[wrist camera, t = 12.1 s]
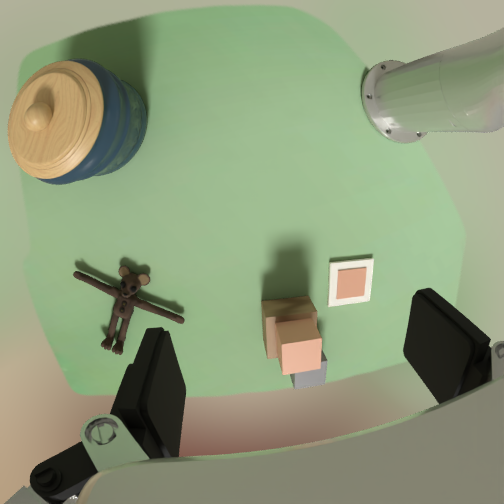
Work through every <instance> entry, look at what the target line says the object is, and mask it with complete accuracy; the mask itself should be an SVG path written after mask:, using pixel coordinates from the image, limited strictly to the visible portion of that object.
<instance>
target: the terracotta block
mask: <svg viewBox="0 0 504 504" xmlns="http://www.w3.org/2000/svg"><path fill="white" fill-rule="evenodd" d="M275 330H276V347H277V355H278V359H279V363H280V366H281V370H282V374H283V375H286V374H293V373H299V372H305V371H310V370H316V369H321V349H322V337H321V335H320V333H319V331H318V329H317V327H316V325H315V323H314V322H313V320H312V318H307V319H300V320H294V321H286V322H279V323H275Z"/></svg>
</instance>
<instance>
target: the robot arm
mask: <svg viewBox="0 0 504 504" xmlns="http://www.w3.org/2000/svg"><path fill="white" fill-rule="evenodd" d="M367 96H368V98H367ZM362 102H363V107H364V109H365V112H366V115H367V117H368V118H369V120H370V122H371V123H372V125H373V126H374V127H375V129H376V130H377V131H378V132H380V133H381V134H382V135H383V136H385V137H386V138H388V139H390V140H392V141H394V142H399V143H412V142H416V141H418V140H420V139H421V138H423V137H424V136H425V135H426V134H427V133H428V132H483V133H485V132H486V133H487V132H493V131H497V130H499V129H500V128H502V127H503V126H504V28H502V29H500V30H498V31H496V32H494V33H492V34H489V35H487V36H485V37H482V38H480V39H477V40H474V41H471V42H468V43H466V44H462V45H459V46H456V47H453V48H450V49H447V50H444V51H441V52H438V53H435V54H432V55H429V56H426V57H423V58H421V59H418V60H415V61H413V62H410V63H407V64H405V63H402V62H400V61H393V60H389V61H384V62H381V63H379V64H377V65H375V66H373V67H372V68H371V69H370V70H369V71H368V73H367V74H366V76H365V78H364V81H363V85H362ZM386 130H387V133H386ZM490 340H491V339H490V338H489V337H488V336H487V335H486V334H484V332H482V331H481V330H480V329H479V328H478V327H477V326H476V325H474V324H473V323H472V322H471V321H470V320H469V319H468V318H466V317H465V316H464V315H463V314H462V313H460V312H459V311H458V310H457V309H456V308H455V307H453V306H452V305H451V304H450V303H449V302H447V301H446V300H445V299H444V298H443V297H441V296H440V295H439V294H438V293H436V292H435V291H434V290H433V289H431V288H426V289H421V290H418V291H417V292H416V293H415V295H413V298H412V304H411V310H410V316H409V322H408V328H407V333H406V338H405V343H404V348H403V352H404V356H405V358H406V359H407V360H408V362H409V363H410V364H411V366H412V367H413V368H414V370H415V371H416V372H417V374H418V375H419V376H420V378H421V379H422V381H423V382H424V383H425V385H426V386H427V387H428V389H429V390H430V392H431V393H432V394H433V396H434V397H435V399H436V400H437V401H438V403H439V405H436V406H434V407H431V408H429V409H426V410H424V411H421V412H418V413H415V414H413V415H410V416H407V417H404V418H401V419H398V420H395V421H392V422H389V423H386V424H383V425H380V426H377V427H373V428H370V429H366V430H362V431H359V432H356V433H351V434H347V435H344V436H339V437H336V438H331V439H326V440H322V441H317V442H312V443H307V444H301V445H296V446H290V447H284V448H278V449H270V450H263V451H254V452H245V453H235V454H224V455H210V456H189V457H179V448H180V438H181V430H182V421H183V413H184V405H185V397H186V386H185V383H184V380H183V376H182V373H181V370H180V367H179V364H178V360H177V357H176V354H175V350H174V347H173V344H172V340H171V337H170V333H169V331H164V329H163V328H162V327H159V328H147V329H146V332H145V334H144V337H143V339H142V342H141V344H140V347H139V350H138V352H137V355H136V357H135V360H134V363H133V364H129V365H128V367H127V369H126V371H125V374H124V377H123V379H122V382H121V385H120V387H119V390H118V393H117V395H116V399H115V401H114V404H113V407H112V409H111V412H110V414H101V415H97V416H94V417H92V418H91V419H89V420H87V421H86V423H85V424H84V425H83V427H82V429H81V432H80V437H81V440H82V441H81V442H79V443H77V444H76V445H74V446H72V447H70V448H68V449H66V450H65V451H63V452H61V453H59V454H57V455H55V456H53V457H51V458H49V459H47V460H46V461H44V462H42V463H40V464H38V465H37V466H36V467H35V468H34V469H33V470H32V473H31V475H30V484H31V485H30V486H29V487H28V488H26V487H25V486H23V487H22V488H21V489H20V490H19V491H17V492H16V493H15V494H14V495H13V496H12V497H11V498H10V499H9V500H8V501H7V502H5V503H4V504H504V341H500V342H496V343H495V344H494V345H493V346H492V348H491V347H490V346H489V343H490Z"/></svg>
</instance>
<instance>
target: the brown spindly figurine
mask: <svg viewBox="0 0 504 504" xmlns="http://www.w3.org/2000/svg"><path fill="white" fill-rule="evenodd" d="M119 275H120V276H121V277H122V282H121V283H120V285H121V290H119V289H117V288H116V287H115V286H110V285H107V284H105V283H102V282H100V281H98V280H97V279H94V278H92V277H90V276H88V275H86V274H83V273H81V272H79V271H75V272H74V274H73V276H74V277H75V278H77V279H79V280H82V281H84V282H86V283H88V284H90V285H92V286H94V287H96V288H98V289H100V290H102V291H103V292H105V293H107V294H109V295H111V296H113V297H115V298H117V301H116V304H115V305H114V308H113V311H114V312H113V316H112V319H111V324H110V327H109V332H108V335H107V338H106V339H105V340H103V341H102V343H101V347H104V349H107V350H110V349H111V347H112V343H113V340H114V334H115V330H116V326H117V322H118V318H119V317H121V318H124V320H123V324H122V327H121V331H120V334H119V337H118V341H117V342H116V344H115V345H114V346H113V348H112V352H115V354H118V353H119V355H121V354H122V353H123V345H124V341H125V339H126V332H127V329H128V325H129V322H130V319H131V316H132V314H133V311H134V306H135V307H138V308H141V309H144V310H146V311H149V312H152V313H155V314H158V315H161V316H164V317H166V318H169V319H171V320H173V321H175V322H177V323H180V324H183V323H184V318H183V317H182V316H180V315H177V314H175V313H173V312H170V311H167V310H165V309H163V308H160V307H157V306H155V305H153V304H151V303H149V302H147V301H144V300H142V299H139V298H138V297H137V296H136V295H135V293H136V292H137V291H138V290H139V289H140V287H141V286H142V285H144V286H145V285H147V284H149V282H150V277H149V276H148V275H147V274H144V273H142V274H139V275H137V274H135V273H130V270H129V268H128V267H126V266H121V267H120V268H119Z"/></svg>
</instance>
